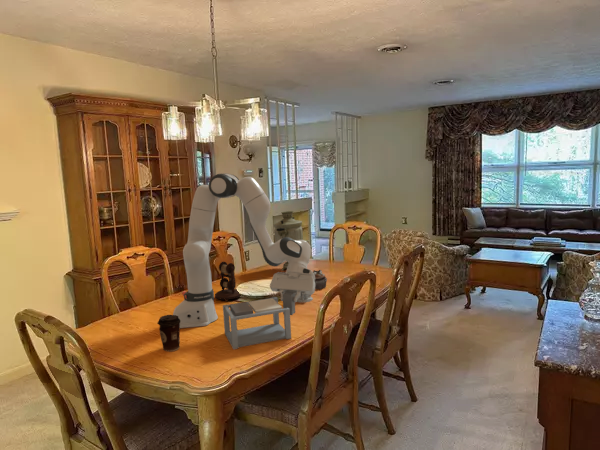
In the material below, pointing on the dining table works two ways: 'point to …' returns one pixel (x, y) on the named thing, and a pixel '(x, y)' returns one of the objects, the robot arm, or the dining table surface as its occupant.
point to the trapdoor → (254, 307)
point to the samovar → (288, 229)
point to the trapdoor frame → (256, 328)
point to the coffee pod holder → (227, 282)
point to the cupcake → (320, 279)
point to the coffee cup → (170, 332)
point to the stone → (289, 301)
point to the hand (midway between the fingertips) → (288, 300)
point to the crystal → (304, 298)
